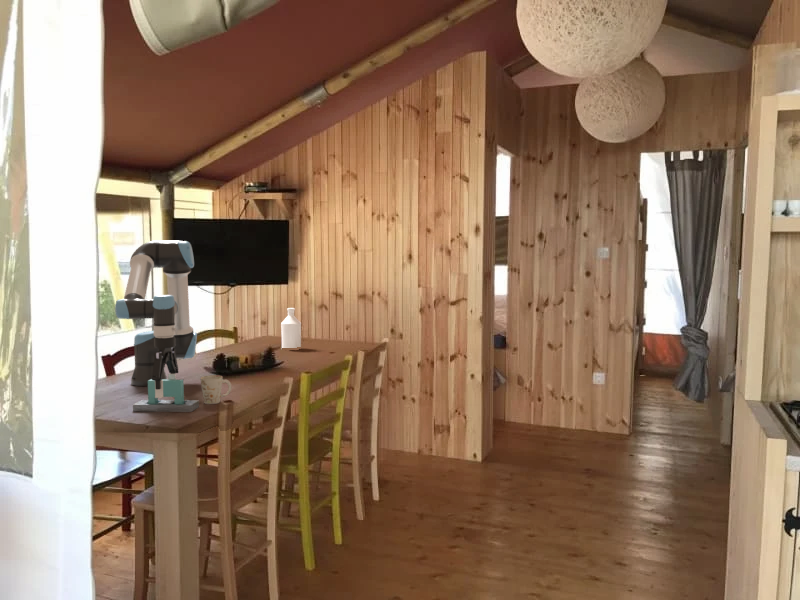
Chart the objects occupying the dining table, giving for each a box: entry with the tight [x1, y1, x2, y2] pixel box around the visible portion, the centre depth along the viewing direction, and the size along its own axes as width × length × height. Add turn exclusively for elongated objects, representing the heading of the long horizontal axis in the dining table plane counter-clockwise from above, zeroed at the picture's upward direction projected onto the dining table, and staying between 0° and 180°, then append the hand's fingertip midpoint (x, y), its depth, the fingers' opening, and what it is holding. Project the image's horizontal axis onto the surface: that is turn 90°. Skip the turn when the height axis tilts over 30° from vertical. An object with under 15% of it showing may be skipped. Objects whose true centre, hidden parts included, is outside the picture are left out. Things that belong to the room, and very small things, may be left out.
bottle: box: [280, 307, 302, 349], centre depth 391 cm, size 12×12×25 cm
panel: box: [147, 378, 185, 404], centre depth 244 cm, size 12×3×11 cm, turn 88°
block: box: [132, 399, 200, 413], centre depth 244 cm, size 22×8×2 cm, turn 88°
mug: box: [200, 374, 232, 405], centre depth 257 cm, size 8×13×10 cm, turn 135°
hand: (166, 394), depth 244 cm, fingers open, 11 cm apart
